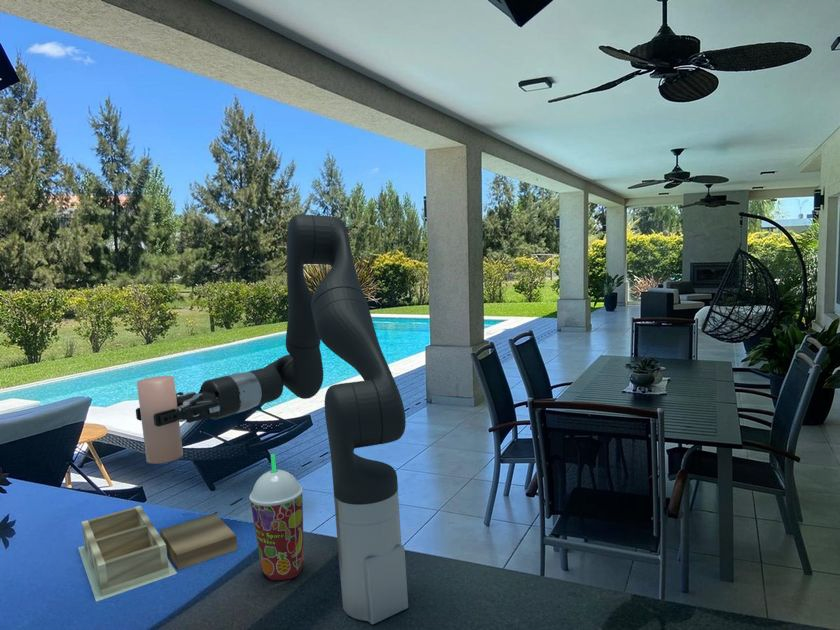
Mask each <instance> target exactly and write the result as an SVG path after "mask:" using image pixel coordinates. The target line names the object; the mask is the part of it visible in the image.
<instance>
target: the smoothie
mask: <svg viewBox="0 0 840 630" xmlns="http://www.w3.org/2000/svg"><path fill="white" fill-rule="evenodd" d="M270 461H271V470H269V471H266V472H265V473H263V474H262V475H260V477H259V478H258V479H256V482H255V484H254V486H253V489H252V491H251V492H250V494H249V497H248V498H249V500H250V501H249V502H250V507H251V513H252V521H253V525H254V530H255V532H254V533H255V539H256V543H257V550H258V556H259V562H260V567H261V570H262V573H264V574H265V576H266V578H268V579H269V580H273V581H284V582H285V581H288V580H291V579H293V578H296V577H297V576H299V575H300V573H301V571H302V567H303V566H304V564H305V556H304V555H305V554H304V551H305V549H304V546H305V545H304V509H303V507H304V506H303V505H304V504H303V501H304V500H303V492H304V491H303V487H302V485H301V484H300V483H299V482H298V480H297V478H296V477H295V476H294V475H293V474H291V472H288V471H287V470H283V469H277V464H276V463H277V461H276V455H275V453H271V454H270Z"/></svg>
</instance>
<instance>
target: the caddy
mask: <svg viewBox="0 0 840 630" xmlns="http://www.w3.org/2000/svg"><path fill="white" fill-rule="evenodd" d="M148 516H149V515H148V514H146V512H145V510H144V509H143V507H142V505H137V506H133V507H130V508H126V509H123V510H119V511H116V512H112V513H108V514H105V515H102V516H98V517H93V518H91V519H86V520H83V521H81V528H82V529H81V530H82V535H83V536H82V537H83V546H85V550H86V552H87V555H88V558H89V561H90V563H91V566H92V569H93V572H94V574H95V577H96V580H97V583H98V586H99V588H100V591H101V594H102V596H104V595H107V594H110V593H113V592H116V591H119V590H122V589H125V588H127V587H130V586H133V585H136V584H139V583H142V582H145V581H148V580H151V579H154V578H157V577H159V576H162V575H165V574H168V573H169V566H168V560H169V559H168V553H167V549H166V544H165V542H164V541H163V539H162V538H161V534H160V532H158V530H157V529H156V527H155V525H154V524H153V522H152V521H151V520H150V518H149V517H148Z"/></svg>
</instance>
